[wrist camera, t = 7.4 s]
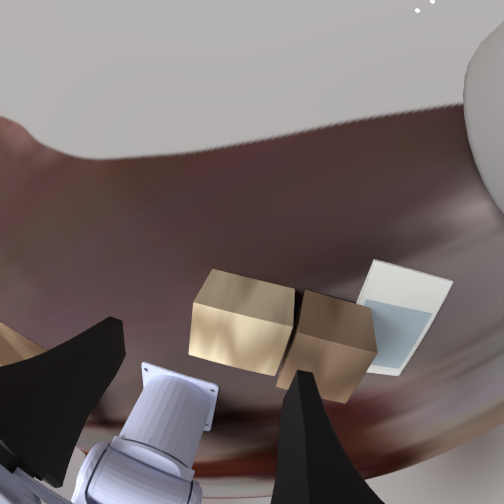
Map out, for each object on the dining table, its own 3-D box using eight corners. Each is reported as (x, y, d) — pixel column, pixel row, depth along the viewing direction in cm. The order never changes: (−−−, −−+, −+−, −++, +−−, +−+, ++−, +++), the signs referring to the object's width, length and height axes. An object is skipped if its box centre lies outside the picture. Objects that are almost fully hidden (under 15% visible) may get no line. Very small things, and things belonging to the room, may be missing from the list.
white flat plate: (397, 373, 23) (398, 376, 23) (327, 363, 24) (327, 366, 23) (451, 280, 19) (453, 282, 19) (373, 258, 19) (375, 261, 19)
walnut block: (345, 403, 18) (276, 386, 19) (345, 356, 22) (287, 341, 23) (377, 353, 16) (298, 332, 17) (370, 307, 20) (305, 289, 21)
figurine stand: (91, 414, 35) (73, 443, 30) (19, 372, 36) (0, 394, 31) (73, 364, 30) (48, 396, 25) (-3, 319, 31) (-27, 342, 25)
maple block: (274, 376, 19) (188, 354, 19) (279, 335, 23) (205, 316, 23) (293, 326, 17) (193, 302, 17) (294, 288, 21) (212, 268, 22)
